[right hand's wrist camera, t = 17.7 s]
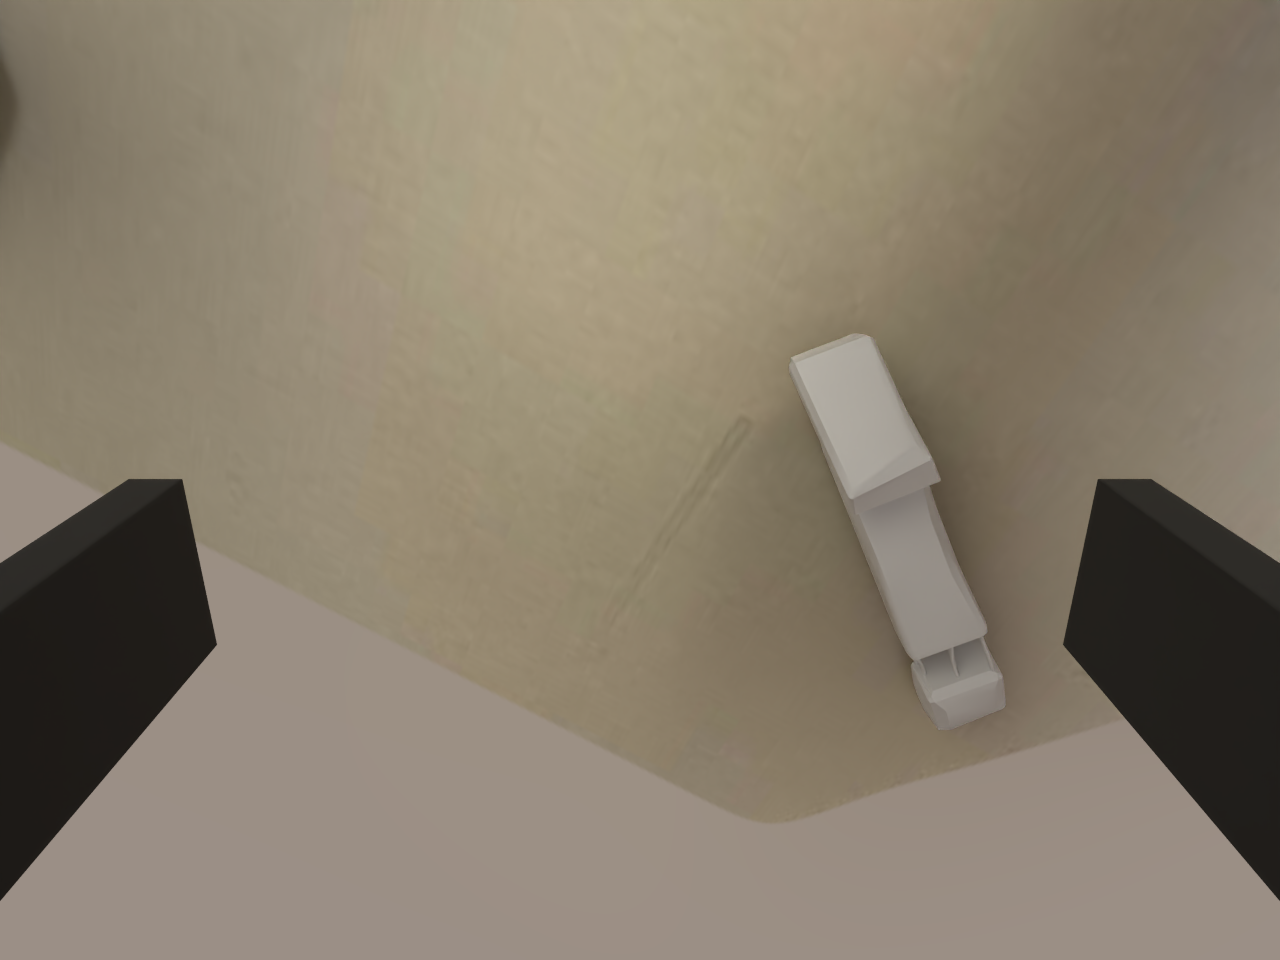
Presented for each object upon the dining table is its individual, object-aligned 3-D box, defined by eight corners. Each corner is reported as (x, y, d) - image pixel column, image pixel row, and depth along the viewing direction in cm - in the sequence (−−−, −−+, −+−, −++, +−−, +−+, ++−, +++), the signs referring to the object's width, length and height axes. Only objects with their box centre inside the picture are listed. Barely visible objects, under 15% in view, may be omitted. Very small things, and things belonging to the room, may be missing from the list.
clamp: (776, 352, 36) (810, 414, 30) (860, 315, 36) (912, 370, 29) (910, 685, 45) (958, 786, 39) (980, 660, 44) (1040, 758, 38)
